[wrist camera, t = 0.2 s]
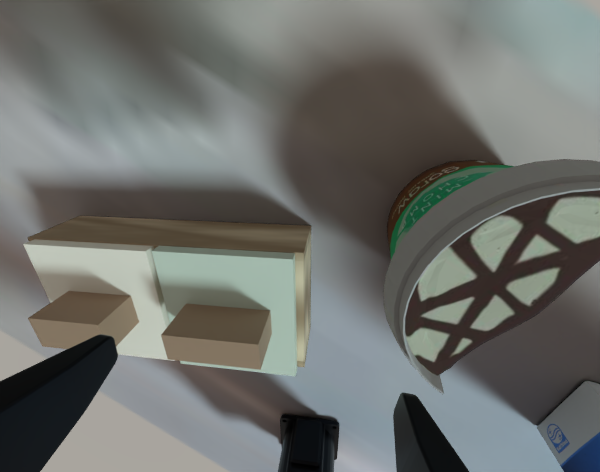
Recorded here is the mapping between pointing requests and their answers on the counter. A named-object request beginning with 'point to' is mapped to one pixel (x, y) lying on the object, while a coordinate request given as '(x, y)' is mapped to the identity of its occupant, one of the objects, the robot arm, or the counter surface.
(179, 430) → the counter surface
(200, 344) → the cover
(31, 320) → the lid
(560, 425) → the string lights box
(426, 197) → the food container
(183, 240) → the box
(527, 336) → the counter surface
